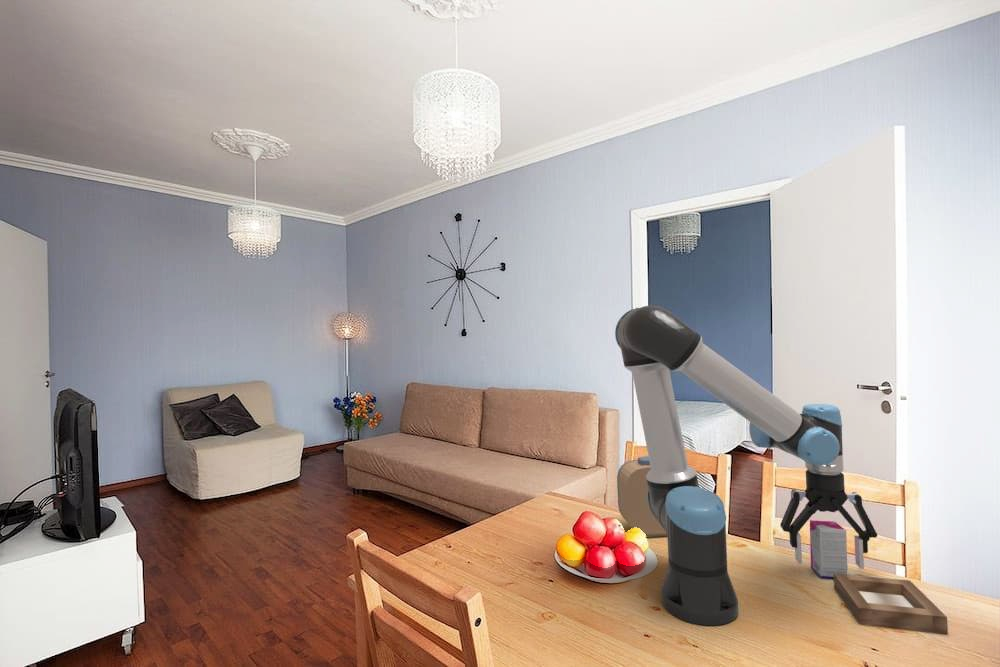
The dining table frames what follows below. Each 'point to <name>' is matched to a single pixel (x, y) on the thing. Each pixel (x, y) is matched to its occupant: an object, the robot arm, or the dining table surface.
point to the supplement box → (828, 549)
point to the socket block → (889, 603)
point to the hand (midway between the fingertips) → (828, 563)
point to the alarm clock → (637, 497)
